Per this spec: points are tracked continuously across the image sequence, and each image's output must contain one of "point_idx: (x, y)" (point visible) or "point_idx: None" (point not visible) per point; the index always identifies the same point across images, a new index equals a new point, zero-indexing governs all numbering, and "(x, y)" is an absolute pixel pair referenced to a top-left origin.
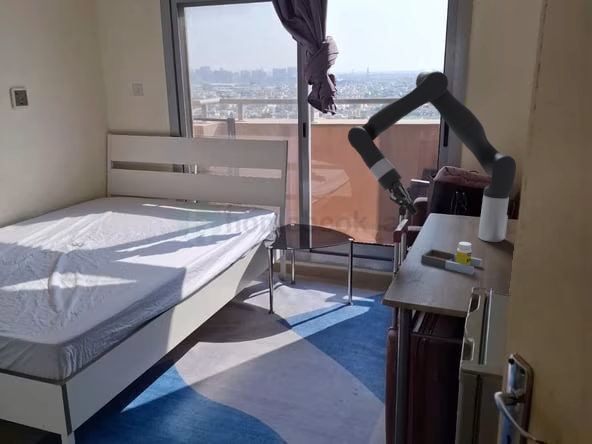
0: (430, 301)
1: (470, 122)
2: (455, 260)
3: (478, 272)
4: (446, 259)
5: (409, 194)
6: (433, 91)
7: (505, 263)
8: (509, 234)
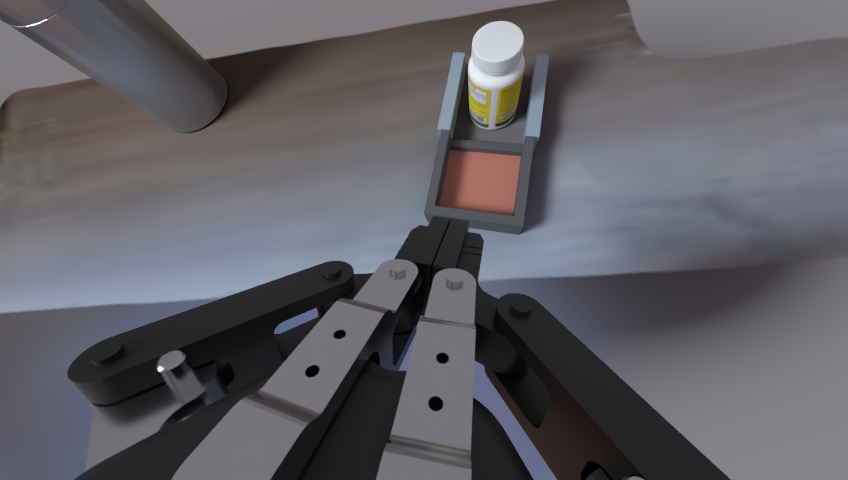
0: None
1: None
2: (452, 136)
3: None
4: (453, 163)
5: (269, 320)
6: None
7: (397, 28)
8: None
